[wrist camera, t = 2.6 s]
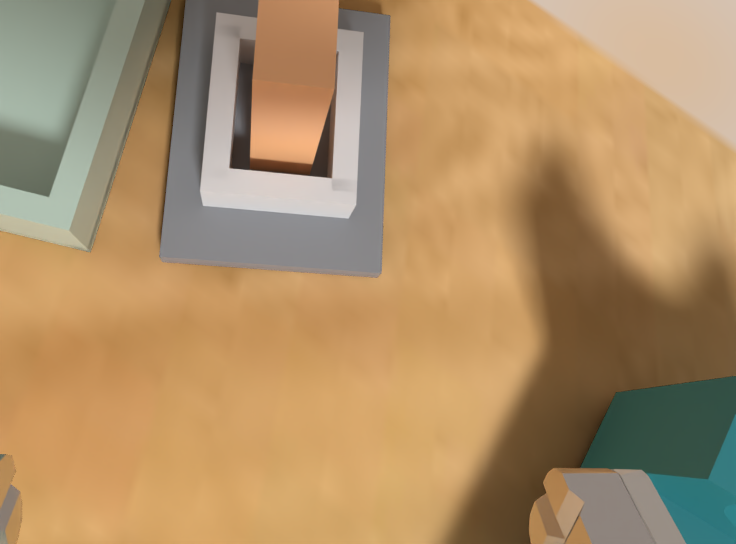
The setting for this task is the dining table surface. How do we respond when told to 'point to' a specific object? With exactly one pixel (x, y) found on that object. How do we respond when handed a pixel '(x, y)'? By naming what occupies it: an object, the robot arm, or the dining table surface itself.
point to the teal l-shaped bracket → (678, 451)
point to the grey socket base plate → (265, 188)
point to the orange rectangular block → (292, 82)
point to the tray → (68, 109)
